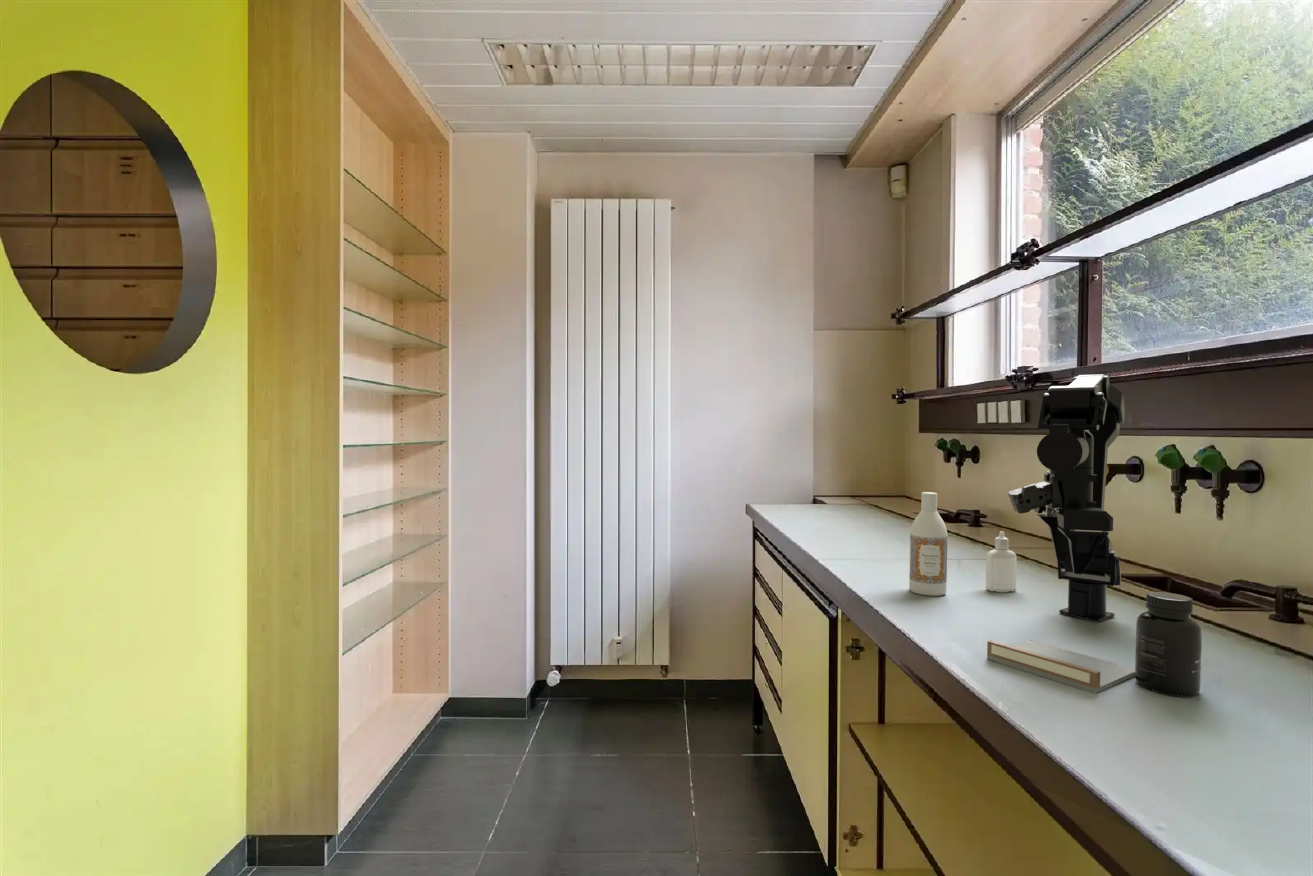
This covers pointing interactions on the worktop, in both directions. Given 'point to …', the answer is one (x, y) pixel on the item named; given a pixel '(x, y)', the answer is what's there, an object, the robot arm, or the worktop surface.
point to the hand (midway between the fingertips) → (1069, 566)
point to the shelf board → (1060, 665)
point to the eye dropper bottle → (1001, 566)
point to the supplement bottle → (1168, 646)
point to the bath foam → (928, 550)
